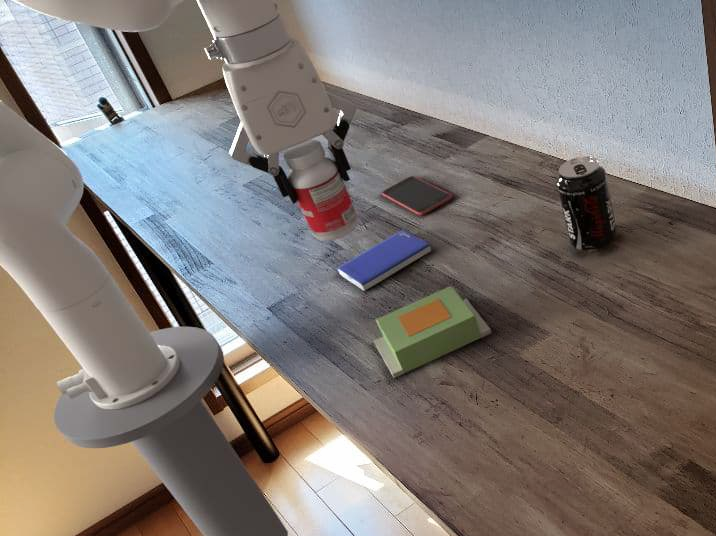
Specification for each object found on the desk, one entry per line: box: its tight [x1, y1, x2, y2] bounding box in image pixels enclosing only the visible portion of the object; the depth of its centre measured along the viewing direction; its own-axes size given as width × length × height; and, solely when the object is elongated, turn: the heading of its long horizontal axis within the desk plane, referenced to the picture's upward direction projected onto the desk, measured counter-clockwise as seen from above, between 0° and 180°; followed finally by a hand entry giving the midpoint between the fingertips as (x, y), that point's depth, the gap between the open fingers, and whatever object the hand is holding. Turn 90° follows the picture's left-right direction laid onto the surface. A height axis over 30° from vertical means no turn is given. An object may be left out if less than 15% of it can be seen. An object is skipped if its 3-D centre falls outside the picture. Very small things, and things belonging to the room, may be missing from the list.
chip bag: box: [373, 285, 492, 379], centre depth 111 cm, size 14×9×4 cm, turn 115°
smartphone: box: [381, 175, 453, 216], centre depth 144 cm, size 7×1×14 cm
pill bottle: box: [283, 139, 359, 242], centre depth 103 cm, size 6×6×11 cm
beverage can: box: [556, 156, 618, 253], centre depth 117 cm, size 7×7×12 cm
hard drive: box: [337, 229, 432, 292], centre depth 129 cm, size 2×8×12 cm
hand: (318, 187), depth 103 cm, fingers closed on pill bottle, 6 cm apart
